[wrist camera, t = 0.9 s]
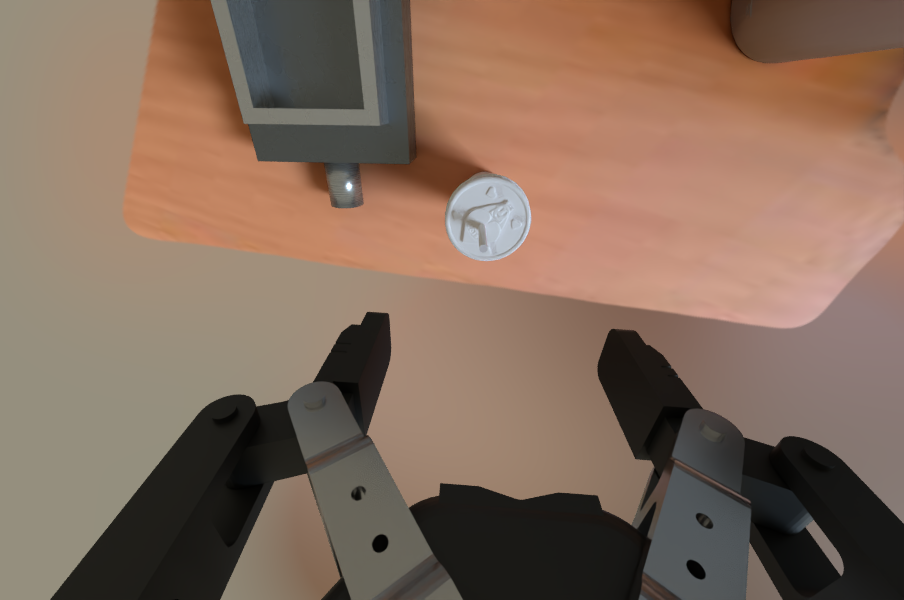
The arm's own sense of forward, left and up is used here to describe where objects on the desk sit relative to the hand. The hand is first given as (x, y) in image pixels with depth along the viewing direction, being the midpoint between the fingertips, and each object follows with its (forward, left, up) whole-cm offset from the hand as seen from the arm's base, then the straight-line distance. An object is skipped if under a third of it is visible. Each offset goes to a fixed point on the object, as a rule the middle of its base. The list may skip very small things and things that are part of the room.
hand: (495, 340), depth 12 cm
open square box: (+13, -9, -24) cm, 28 cm away
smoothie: (0, 0, -24) cm, 24 cm away
